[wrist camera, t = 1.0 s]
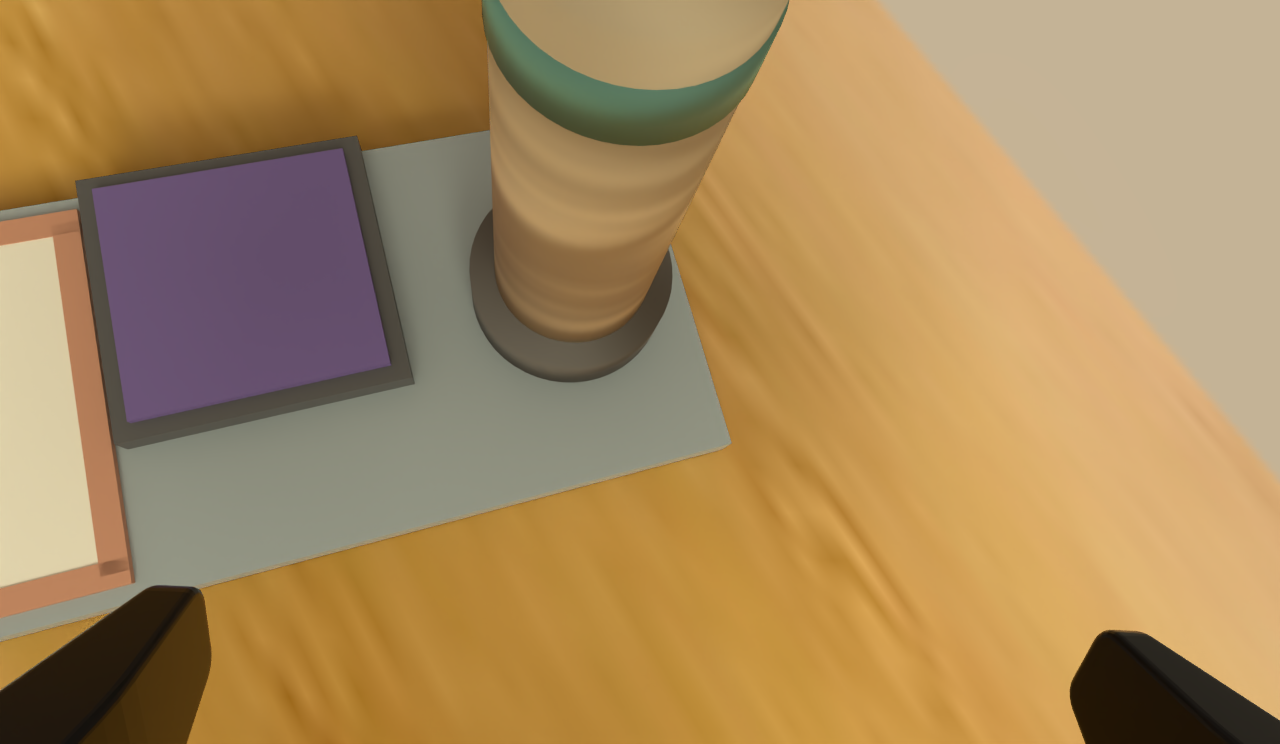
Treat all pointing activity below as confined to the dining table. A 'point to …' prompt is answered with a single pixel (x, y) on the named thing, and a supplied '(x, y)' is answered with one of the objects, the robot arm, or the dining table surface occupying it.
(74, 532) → the stamp board
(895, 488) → the dining table surface
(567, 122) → the stamp
